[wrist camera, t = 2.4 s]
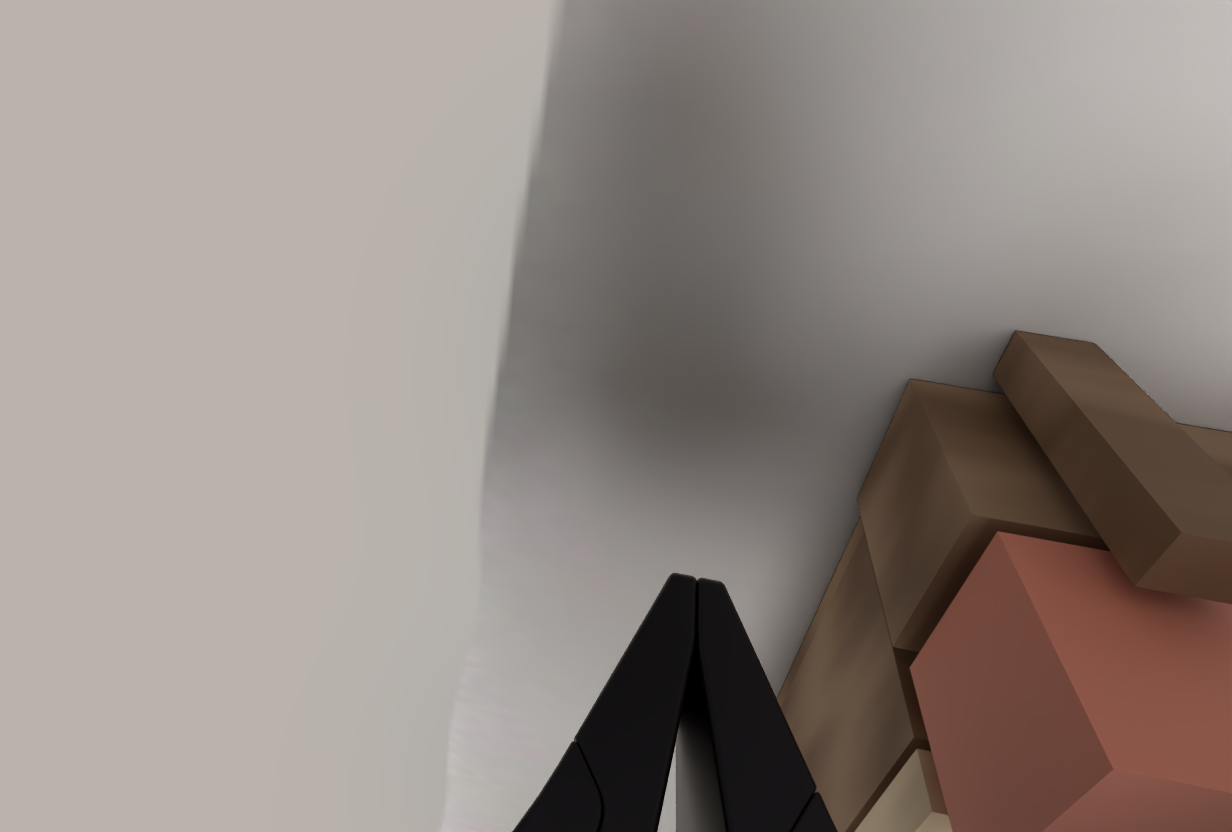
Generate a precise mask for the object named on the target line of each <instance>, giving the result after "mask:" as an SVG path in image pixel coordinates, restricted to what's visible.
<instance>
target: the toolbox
mask: <svg viewBox="0 0 1232 832" xmlns="http://www.w3.org/2000/svg"><path fill="white" fill-rule="evenodd" d="M993 376H994V378H995V379H996V381H997V382H998V384H999V385H1000V387H1001V388H1002V390H1003V391H1004V393H1005V394H1006V395H1003V394H997V393H991V392H985V391H979V390H973V389H967V388H961V387H955V386H949V385H943V384H938V383H932V382H926V381H920V380H914V379H910V381H909V383H908V385H907V387H906V390H905V392H904V394H903V396H902V399H901V401H900V403H899V405H898V408H897V410H896V412H895V414H894V417H893V419H892V421H891V423H890V426H889V428H888V430H887V432H886V435H885V437H884V439H883V441H882V444H881V446H880V448H879V450H878V453H877V455H876V457H875V459H874V462H873V464H872V466H871V468H870V471H869V473H868V475H867V477H866V480H865V482H864V484H863V486H862V489H861V491H860V493H859V495H858V498H857V503H858V507H859V511H860V515H861V516H860V518H859V521H858V523H857V525H856V527H855V529H854V531H853V534H852V536H851V538H850V540H849V542H848V545H847V547H846V549H845V551H844V553H843V555H842V558H841V560H840V562H839V564H838V566H837V569H836V571H835V573H834V575H833V577H832V579H831V582H830V584H829V586H828V588H827V590H826V593H825V595H824V597H823V599H822V601H821V603H820V606H819V608H818V610H817V612H816V614H815V617H814V619H813V621H812V623H811V625H810V627H809V630H808V632H807V634H806V636H805V638H804V641H803V643H802V645H801V647H800V649H799V651H798V654H797V656H796V658H795V660H794V662H793V665H792V667H791V669H790V671H789V673H788V675H787V678H786V680H785V682H784V684H783V686H782V689H781V691H780V693H779V695H778V697H777V701H778V703H779V705H780V707H781V710H782V712H783V714H784V716H785V718H786V720H787V723H788V725H789V727H790V729H791V731H792V734H793V736H794V738H795V740H796V742H797V745H798V747H799V749H800V751H801V753H802V755H803V758H804V760H805V762H806V764H807V766H808V769H809V771H810V773H811V775H812V777H813V780H814V782H815V784H816V786H817V789H816V791H815V792H819V793H820V794H821V796H822V799H823V801H824V803H825V805H826V807H827V810H828V812H829V814H830V816H831V818H832V821H833V823H834V825H835V827H836V829H837V831H838V832H855V830H856V829H857V828H858V826H859V825H860V824H861V822H862V821H863V820H864V818H865V817H866V816H867V814H868V813H869V812H870V810H871V809H872V808H873V806H874V805H875V804H876V802H877V801H878V800H879V798H880V797H881V796H882V794H883V793H884V792H885V790H886V789H887V788H888V786H889V785H890V784H891V782H892V781H893V780H894V778H895V777H896V776H897V774H898V773H899V772H900V770H901V769H902V768H903V766H904V765H905V764H906V762H907V761H908V760H909V758H910V757H911V756H912V754H913V753H914V752H915V750H916V749H921V750H926V751H931V747H930V744H929V740H928V736H927V732H926V728H925V724H924V721H923V717H922V713H921V709H920V705H919V702H918V698H917V694H916V690H915V686H914V682H913V679H912V675H911V671H910V666H911V665H912V663H913V662H914V660H915V659H916V657H917V656H918V654H919V652H920V651H921V649H922V648H923V646H924V645H925V643H926V642H927V640H928V638H929V637H930V635H931V634H932V632H933V631H934V629H935V628H936V626H937V624H938V623H939V621H940V620H941V618H942V617H943V615H944V614H945V612H946V610H947V609H948V607H949V606H950V604H951V603H952V601H953V600H954V598H955V597H956V595H957V593H958V592H959V590H960V589H961V587H962V586H963V584H964V583H965V581H966V579H967V578H968V576H969V575H970V573H971V572H972V570H973V569H974V567H975V565H976V564H977V562H978V561H979V559H980V558H981V556H982V555H983V553H984V551H985V550H986V548H987V547H988V545H989V544H990V542H991V541H992V539H993V537H994V536H995V534H996V533H997V531H999V532H1005V533H1010V534H1016V535H1021V536H1027V537H1032V538H1038V539H1044V540H1049V541H1055V542H1060V543H1066V544H1071V545H1077V546H1082V547H1088V548H1093V549H1099V550H1105V551H1110V552H1112V554H1113V555H1114V557H1115V558H1116V560H1117V561H1118V563H1119V564H1120V566H1121V567H1122V569H1123V570H1124V572H1125V573H1126V575H1127V576H1128V578H1129V579H1130V581H1131V582H1132V584H1133V585H1134V586H1135V587H1140V588H1145V589H1151V590H1156V591H1162V592H1167V593H1173V594H1178V595H1184V596H1189V597H1195V598H1200V599H1205V600H1211V601H1216V602H1222V603H1227V604H1232V433H1230V432H1224V431H1218V430H1212V429H1206V428H1200V427H1194V426H1188V425H1182V424H1177V423H1176V422H1175V421H1174V420H1173V419H1172V418H1171V417H1169V416H1168V415H1167V414H1166V413H1165V412H1164V411H1163V410H1162V409H1161V408H1160V407H1159V406H1158V405H1157V404H1156V403H1155V402H1154V401H1153V400H1152V399H1151V398H1150V397H1149V396H1148V395H1147V394H1146V393H1145V392H1144V391H1143V390H1142V389H1141V388H1140V387H1139V386H1138V385H1137V384H1136V383H1135V382H1134V381H1133V380H1132V379H1131V378H1130V377H1129V376H1128V375H1127V374H1126V373H1125V372H1124V371H1123V370H1122V369H1121V368H1120V367H1119V366H1118V365H1117V364H1116V363H1115V362H1114V361H1113V360H1112V359H1111V358H1110V357H1109V356H1108V355H1107V354H1106V353H1105V352H1104V351H1103V350H1102V349H1101V348H1100V347H1099V346H1098V345H1097V344H1094V343H1088V342H1082V341H1076V340H1069V339H1063V338H1057V337H1051V336H1045V335H1038V334H1032V333H1026V332H1020V331H1016V332H1015V334H1014V335H1013V337H1012V339H1011V341H1010V343H1009V345H1008V347H1007V349H1006V351H1005V352H1004V354H1003V356H1002V358H1001V360H1000V362H999V364H998V366H997V367H996V369H995V371H994V373H993ZM931 752H932V751H931Z"/></svg>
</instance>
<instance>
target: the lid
mask: <svg viewBox="0 0 1232 832" xmlns="http://www.w3.org/2000/svg"><path fill="white" fill-rule="evenodd" d="M855 832H952V828H951V824H950V820H949V816H948V812H947V809H946V805H945V801H944V797H943V793H942V789H941V786H940V782H939V778H938V774H937V770H936V767H935V763H934V759H933V755H932V752H931V751H926V750H921V749H916V750H915V752H914V753H913V754H912V756H911V757H910V758H909V760H908V761H907V762H906V764H905V765H904V766H903V768H902V769H901V770H900V772H899V773H898V774H897V776H896V777H895V778H894V780H893V781H892V782H891V784H890V785H889V786H888V788H887V789H886V790H885V792H884V793H883V794H882V796H881V797H880V798H879V800H878V801H877V802H876V804H875V805H874V806H873V808H872V809H871V810H870V812H869V813H868V814H867V816H866V817H865V818H864V820H863V821H862V822H861V824H860V825H859V826H858V828H857V829H856V830H855Z"/></svg>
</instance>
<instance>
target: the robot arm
mask: <svg viewBox="0 0 1232 832" xmlns="http://www.w3.org/2000/svg"><path fill="white" fill-rule="evenodd" d="M675 743H676V832H838V831H837V829H836V827H835V825H834V823H833V821H832V818H831V816H830V814H829V812H828V810H827V807H826V805H825V803H824V801H823V799H822V796H821V794H820V793H819V792H815V791H816V789H817V786H816V784H815V782H814V780H813V777H812V775H811V773H810V771H809V769H808V766H807V764H806V762H805V760H804V758H803V755H802V753H801V751H800V749H799V747H798V745H797V742H796V740H795V738H794V736H793V734H792V731H791V729H790V727H789V725H788V723H787V720H786V718H785V716H784V714H783V712H782V710H781V707H780V705H779V703H778V701H777V699H776V696H775V694H774V692H773V690H772V688H771V685H770V683H769V681H768V679H767V677H766V675H765V672H764V670H763V668H762V666H761V664H760V661H759V659H758V657H757V655H756V653H755V650H754V648H753V646H752V644H751V642H750V640H749V637H748V635H747V633H746V631H745V629H744V626H743V624H742V622H741V620H740V618H739V615H738V613H737V611H736V609H735V607H734V605H733V602H732V600H731V598H730V596H729V594H728V591H727V589H726V587H725V585H724V584H723V583H722V582H720V581H716V580H711V579H705V578H699V579H698V580H697V581H696V578H695V577H693V576H689V575H684V574H679V573H672V574H671V575H670V576H669V578H668V579H667V581H666V583H665V584H664V586H663V588H662V589H661V591H660V593H659V595H658V596H657V598H656V600H655V601H654V603H653V605H652V606H651V608H650V610H649V612H648V613H647V615H646V617H645V618H644V620H643V622H642V624H641V625H640V627H639V629H638V630H637V632H636V634H635V635H634V637H633V639H632V641H631V642H630V644H629V646H628V647H627V649H626V651H625V652H624V654H623V656H622V658H621V659H620V661H619V663H618V664H617V666H616V668H615V670H614V671H613V673H612V675H611V676H610V678H609V680H608V681H607V683H606V685H605V687H604V688H603V690H602V692H601V693H600V695H599V697H598V698H597V700H596V702H595V704H594V705H593V707H592V709H591V710H590V712H589V714H588V716H587V717H586V719H585V721H584V722H583V724H582V726H581V727H580V729H579V731H578V733H577V734H576V736H575V738H574V741H573V742H571V744H570V745H569V747H568V749H567V751H566V752H565V754H564V756H563V757H562V759H561V761H560V762H559V764H558V766H557V767H556V769H555V770H554V772H553V774H552V775H551V777H550V778H549V780H548V781H547V783H546V785H545V786H544V788H543V789H542V791H541V793H540V794H539V796H538V797H537V798H536V800H535V801H534V802H533V804H532V805H531V807H530V808H529V809H528V811H527V812H526V814H525V815H524V816H523V818H522V819H521V820H520V822H519V823H518V825H517V826H516V827H515V829H514V830H513V831H512V832H657V830H658V825H659V820H660V815H661V811H662V806H663V801H664V796H665V791H666V787H667V782H668V777H669V772H670V767H671V762H672V758H673V753H674V748H675Z"/></svg>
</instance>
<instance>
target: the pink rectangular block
mask: <svg viewBox="0 0 1232 832" xmlns="http://www.w3.org/2000/svg"><path fill="white" fill-rule="evenodd" d="M910 671H911V675H912V679H913V682H914V686H915V690H916V694H917V698H918V702H919V705H920V709H921V713H922V717H923V721H924V724H925V728H926V732H927V736H928V740H929V744H930V747H931V751H932V755H933V759H934V763H935V767H936V770H937V774H938V778H939V782H940V786H941V789H942V793H943V797H944V801H945V805H946V809H947V812H948V816H949V820H950V824H951V828H952V832H1232V604H1227V603H1222V602H1216V601H1211V600H1205V599H1200V598H1195V597H1189V596H1184V595H1178V594H1173V593H1167V592H1162V591H1156V590H1151V589H1145V588H1140V587H1135V586H1134V585H1133V584H1132V582H1131V581H1130V579H1129V578H1128V576H1127V575H1126V573H1125V572H1124V570H1123V569H1122V567H1121V566H1120V564H1119V563H1118V561H1117V560H1116V558H1115V557H1114V555H1113V554H1112V552H1110V551H1105V550H1099V549H1093V548H1088V547H1082V546H1077V545H1071V544H1066V543H1060V542H1055V541H1049V540H1044V539H1038V538H1032V537H1027V536H1021V535H1016V534H1010V533H1005V532H999V531H997V533H996V534H995V536H994V537H993V539H992V541H991V542H990V544H989V545H988V547H987V548H986V550H985V551H984V553H983V555H982V556H981V558H980V559H979V561H978V562H977V564H976V565H975V567H974V569H973V570H972V572H971V573H970V575H969V576H968V578H967V579H966V581H965V583H964V584H963V586H962V587H961V589H960V590H959V592H958V593H957V595H956V597H955V598H954V600H953V601H952V603H951V604H950V606H949V607H948V609H947V610H946V612H945V614H944V615H943V617H942V618H941V620H940V621H939V623H938V624H937V626H936V628H935V629H934V631H933V632H932V634H931V635H930V637H929V638H928V640H927V642H926V643H925V645H924V646H923V648H922V649H921V651H920V652H919V654H918V656H917V657H916V659H915V660H914V662H913V663H912V665H911V666H910Z"/></svg>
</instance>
